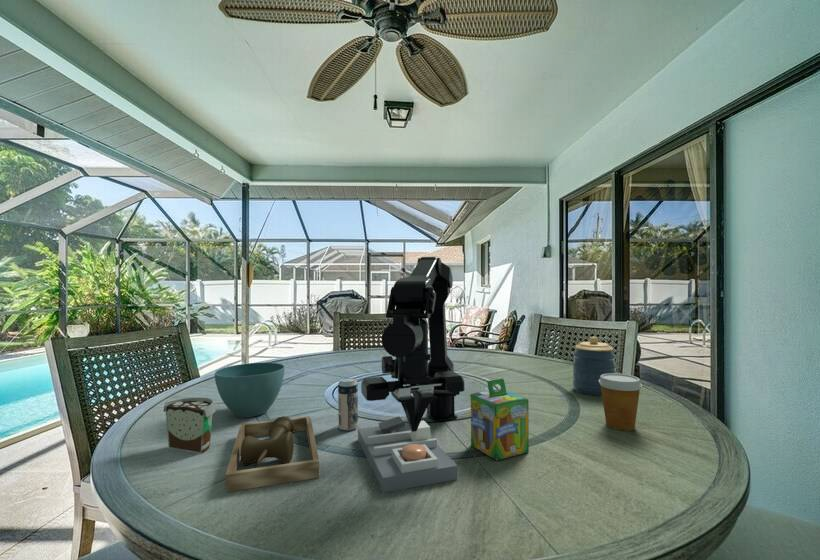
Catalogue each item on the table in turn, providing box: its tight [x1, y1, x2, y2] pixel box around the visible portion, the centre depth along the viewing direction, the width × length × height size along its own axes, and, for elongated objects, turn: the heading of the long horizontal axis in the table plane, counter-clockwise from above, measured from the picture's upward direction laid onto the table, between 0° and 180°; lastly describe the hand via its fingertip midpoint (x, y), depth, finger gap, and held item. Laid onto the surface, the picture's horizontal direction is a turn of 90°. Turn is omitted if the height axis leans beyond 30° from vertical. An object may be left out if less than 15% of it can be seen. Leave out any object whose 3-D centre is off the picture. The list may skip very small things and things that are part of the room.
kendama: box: [240, 416, 295, 466], centre depth 84 cm, size 6×10×20 cm
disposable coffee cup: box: [599, 373, 643, 431], centre depth 98 cm, size 10×10×12 cm
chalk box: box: [469, 378, 530, 462], centre depth 86 cm, size 9×9×15 cm
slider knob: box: [411, 420, 431, 441], centre depth 83 cm, size 3×4×4 cm
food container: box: [163, 396, 216, 455], centre depth 89 cm, size 12×6×10 cm, turn 71°
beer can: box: [337, 377, 359, 432], centre depth 99 cm, size 5×5×12 cm
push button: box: [402, 444, 426, 462], centre depth 74 cm, size 4×4×2 cm
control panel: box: [357, 422, 458, 494], centre depth 82 cm, size 14×24×4 cm, turn 18°
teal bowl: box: [214, 362, 285, 418], centre depth 111 cm, size 18×18×12 cm
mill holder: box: [225, 415, 320, 493], centre depth 84 cm, size 16×26×3 cm, turn 18°
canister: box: [572, 336, 617, 397], centre depth 129 cm, size 13×13×18 cm
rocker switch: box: [378, 415, 405, 434], centre depth 90 cm, size 5×4×1 cm
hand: (413, 430), depth 74 cm, fingers closed
